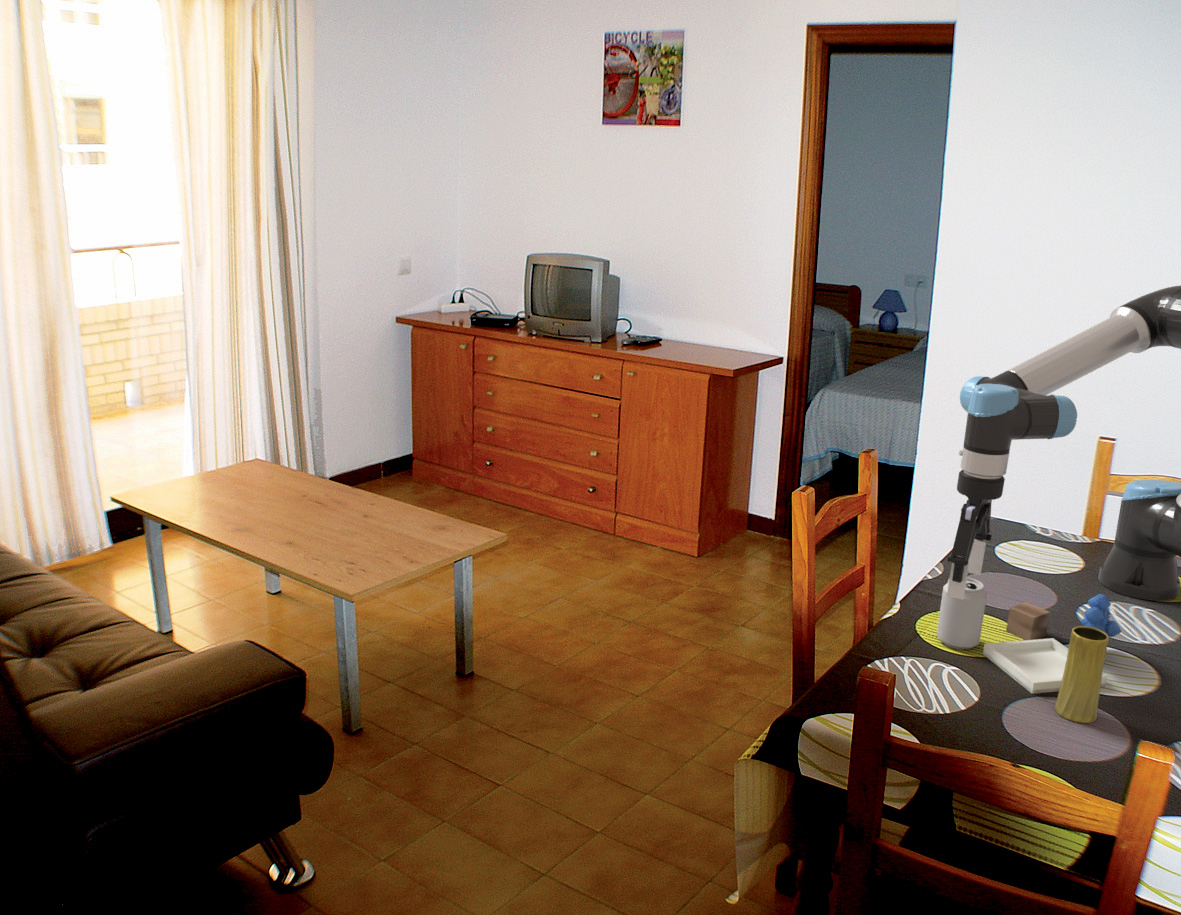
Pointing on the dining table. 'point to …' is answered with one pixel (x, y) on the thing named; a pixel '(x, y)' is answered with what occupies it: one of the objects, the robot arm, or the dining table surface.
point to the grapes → (1100, 616)
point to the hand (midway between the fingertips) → (964, 584)
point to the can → (962, 616)
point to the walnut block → (1027, 621)
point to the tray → (1032, 663)
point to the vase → (1082, 675)
